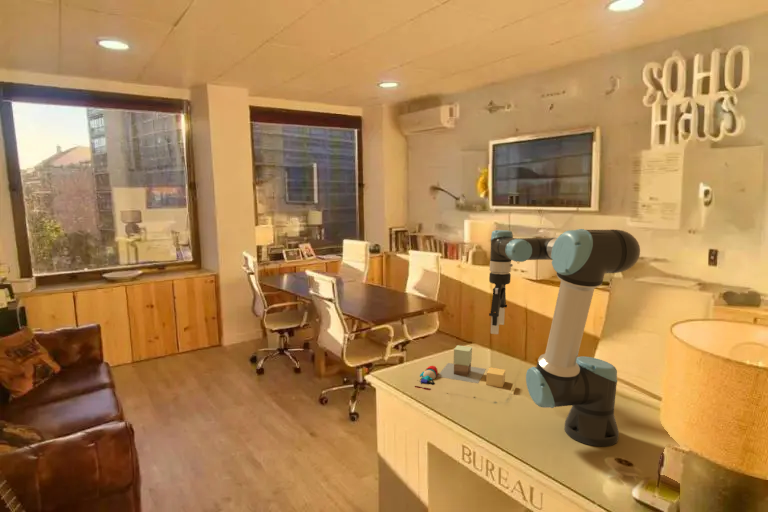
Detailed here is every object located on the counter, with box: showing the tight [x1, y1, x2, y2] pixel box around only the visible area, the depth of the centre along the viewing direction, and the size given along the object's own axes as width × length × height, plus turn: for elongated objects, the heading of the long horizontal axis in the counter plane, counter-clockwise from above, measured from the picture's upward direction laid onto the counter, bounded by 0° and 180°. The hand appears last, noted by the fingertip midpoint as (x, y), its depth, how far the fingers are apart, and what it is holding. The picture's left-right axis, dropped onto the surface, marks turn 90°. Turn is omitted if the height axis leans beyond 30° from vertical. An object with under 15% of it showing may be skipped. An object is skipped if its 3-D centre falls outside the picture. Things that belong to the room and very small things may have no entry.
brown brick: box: [454, 362, 472, 376], centre depth 191 cm, size 6×5×4 cm
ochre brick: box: [485, 367, 507, 388], centre depth 181 cm, size 6×6×6 cm
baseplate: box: [436, 362, 487, 384], centre depth 191 cm, size 16×16×1 cm
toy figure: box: [414, 365, 439, 391], centre depth 184 cm, size 8×5×15 cm
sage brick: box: [452, 344, 473, 366], centre depth 190 cm, size 5×6×6 cm
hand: (497, 328), depth 178 cm, fingers open, 13 cm apart
